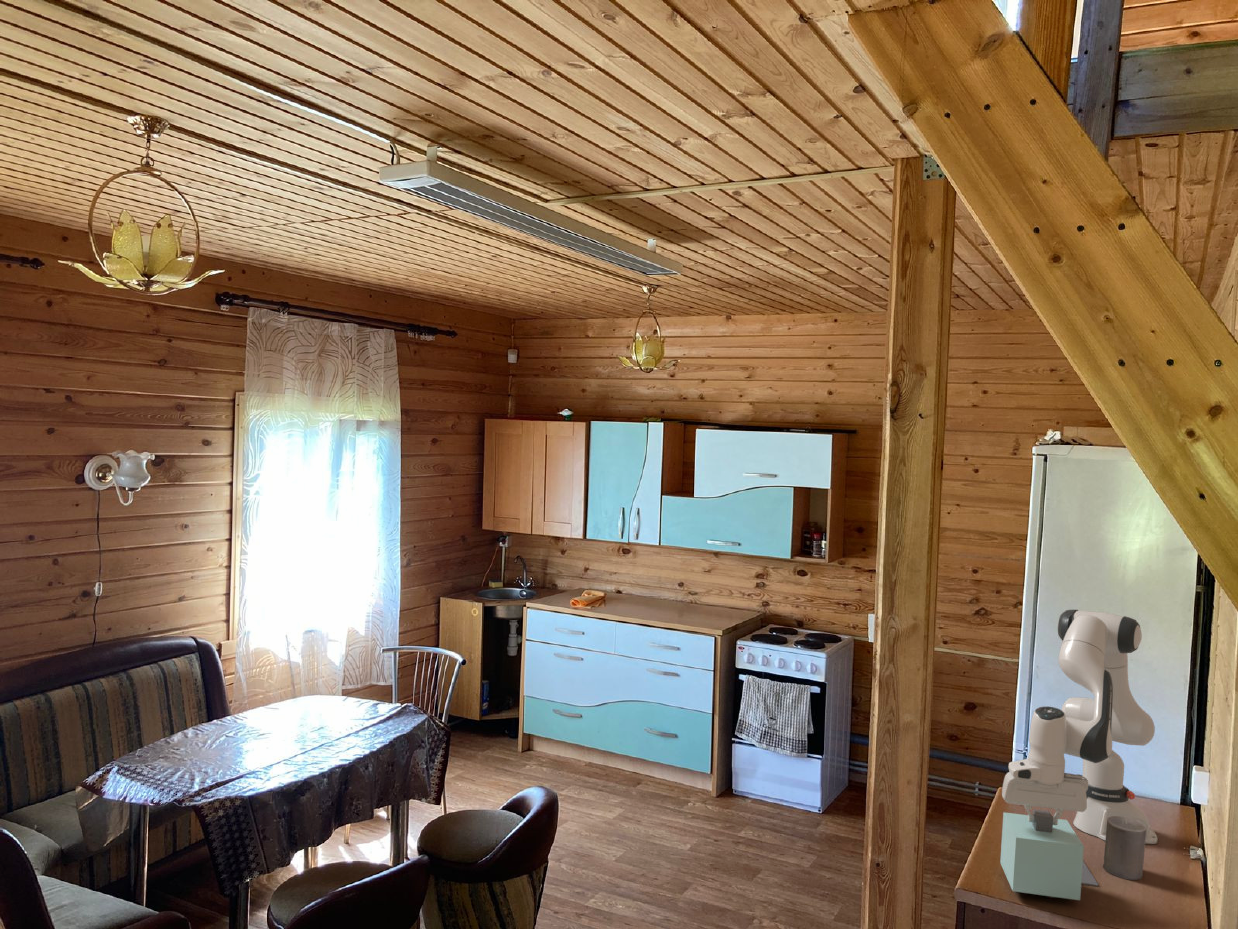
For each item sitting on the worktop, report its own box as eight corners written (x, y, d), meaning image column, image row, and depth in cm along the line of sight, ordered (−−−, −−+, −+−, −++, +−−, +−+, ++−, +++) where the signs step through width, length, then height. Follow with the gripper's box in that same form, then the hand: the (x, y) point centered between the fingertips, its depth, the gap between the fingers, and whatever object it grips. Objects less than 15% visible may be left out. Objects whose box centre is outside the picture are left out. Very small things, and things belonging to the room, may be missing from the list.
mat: (1078, 855, 265) (1078, 853, 265) (1098, 886, 246) (1098, 885, 246) (1007, 845, 269) (1007, 844, 269) (1022, 876, 250) (1022, 875, 250)
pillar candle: (1094, 865, 259) (1099, 813, 258) (1120, 861, 262) (1125, 809, 261) (1124, 882, 249) (1129, 828, 249) (1151, 878, 253) (1155, 824, 252)
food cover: (1063, 871, 249) (1067, 805, 249) (1080, 900, 234) (1084, 830, 233) (1000, 862, 253) (1004, 798, 252) (1012, 891, 237) (1017, 822, 236)
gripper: (1085, 771, 243) (1081, 823, 244) (1002, 762, 247) (999, 813, 248) (1092, 780, 237) (1088, 833, 237) (1007, 770, 241) (1004, 822, 242)
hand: (1042, 823), depth 243 cm, fingers closed on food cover, 4 cm apart
